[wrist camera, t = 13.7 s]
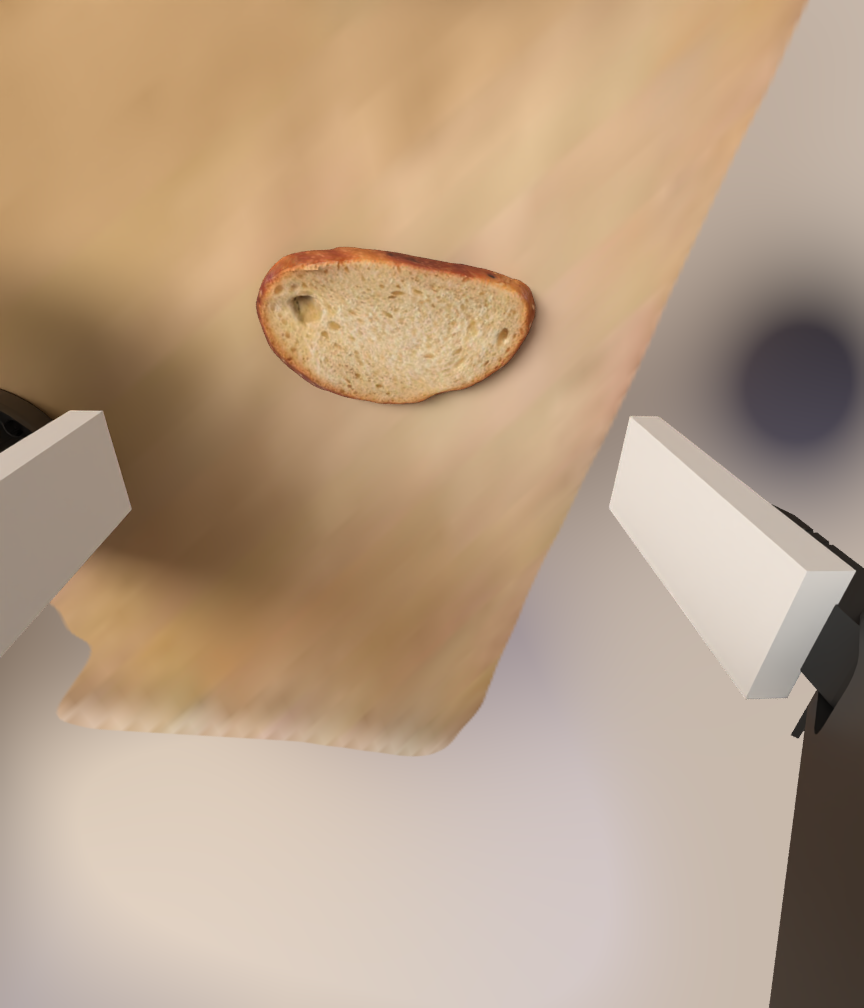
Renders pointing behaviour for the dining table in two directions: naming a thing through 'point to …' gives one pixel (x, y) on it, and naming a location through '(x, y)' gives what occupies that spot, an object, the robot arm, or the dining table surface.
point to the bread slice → (391, 322)
